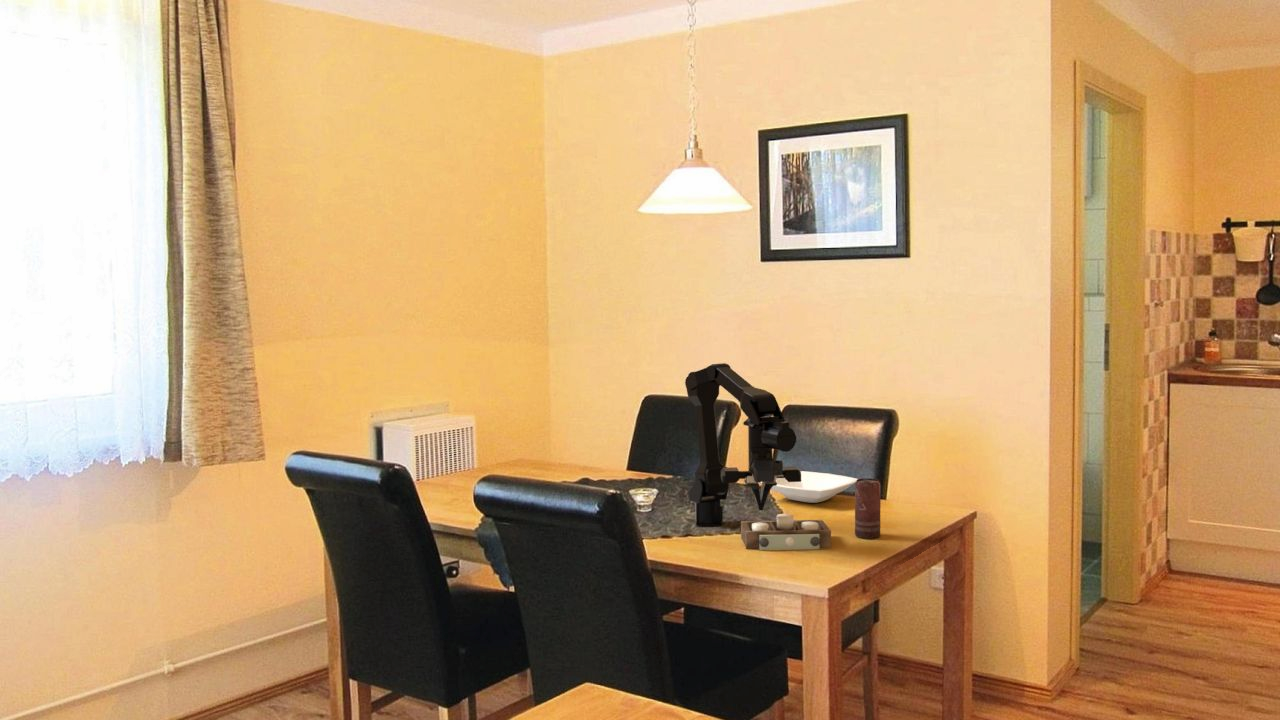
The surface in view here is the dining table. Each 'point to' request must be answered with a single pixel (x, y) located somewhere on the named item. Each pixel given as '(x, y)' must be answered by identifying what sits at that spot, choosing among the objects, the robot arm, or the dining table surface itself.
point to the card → (789, 542)
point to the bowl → (813, 486)
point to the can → (867, 508)
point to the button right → (809, 525)
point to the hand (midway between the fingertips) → (760, 510)
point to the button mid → (785, 521)
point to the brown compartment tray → (783, 532)
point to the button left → (760, 526)
